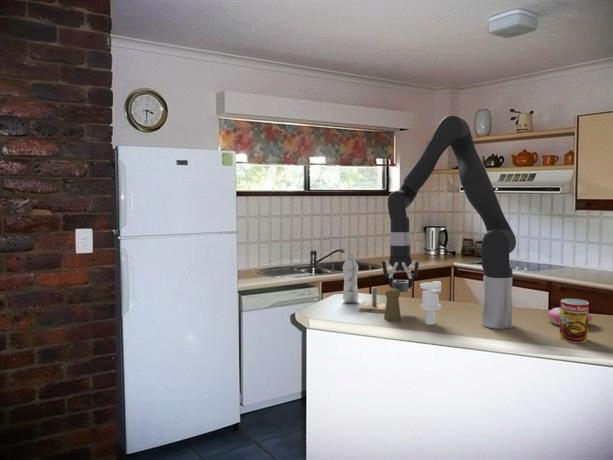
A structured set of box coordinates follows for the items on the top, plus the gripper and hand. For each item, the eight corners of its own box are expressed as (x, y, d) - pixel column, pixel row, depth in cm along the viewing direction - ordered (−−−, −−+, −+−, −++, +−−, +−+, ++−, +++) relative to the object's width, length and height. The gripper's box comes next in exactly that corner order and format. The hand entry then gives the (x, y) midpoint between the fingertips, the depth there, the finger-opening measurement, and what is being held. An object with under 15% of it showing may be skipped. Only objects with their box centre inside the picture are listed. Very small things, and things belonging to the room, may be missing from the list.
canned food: (560, 341, 164) (561, 303, 162) (558, 334, 171) (559, 297, 170) (588, 344, 161) (590, 305, 160) (585, 336, 168) (587, 299, 167)
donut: (590, 321, 186) (591, 307, 186) (592, 331, 174) (592, 316, 174) (548, 317, 192) (549, 304, 192) (547, 326, 180) (547, 312, 180)
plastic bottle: (361, 301, 218) (361, 253, 216) (353, 305, 212) (353, 255, 210) (347, 300, 222) (347, 252, 220) (339, 303, 216) (339, 254, 214)
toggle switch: (388, 306, 210) (389, 286, 209) (385, 312, 200) (385, 291, 199) (363, 305, 212) (363, 284, 212) (359, 311, 203) (359, 289, 202)
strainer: (439, 327, 180) (440, 283, 179) (418, 325, 183) (418, 282, 181) (441, 321, 187) (442, 279, 185) (421, 320, 189) (421, 278, 188)
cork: (400, 321, 188) (401, 290, 187) (383, 320, 189) (383, 290, 188) (401, 317, 194) (401, 287, 193) (384, 316, 195) (384, 286, 194)
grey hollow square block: (409, 289, 202) (409, 280, 202) (408, 292, 197) (408, 282, 196) (393, 288, 204) (393, 279, 204) (391, 291, 198) (391, 282, 198)
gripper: (420, 242, 201) (420, 286, 202) (382, 242, 205) (383, 285, 206) (419, 245, 193) (419, 290, 195) (379, 244, 197) (380, 289, 199)
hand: (400, 287), depth 200 cm, fingers closed on grey hollow square block, 6 cm apart
